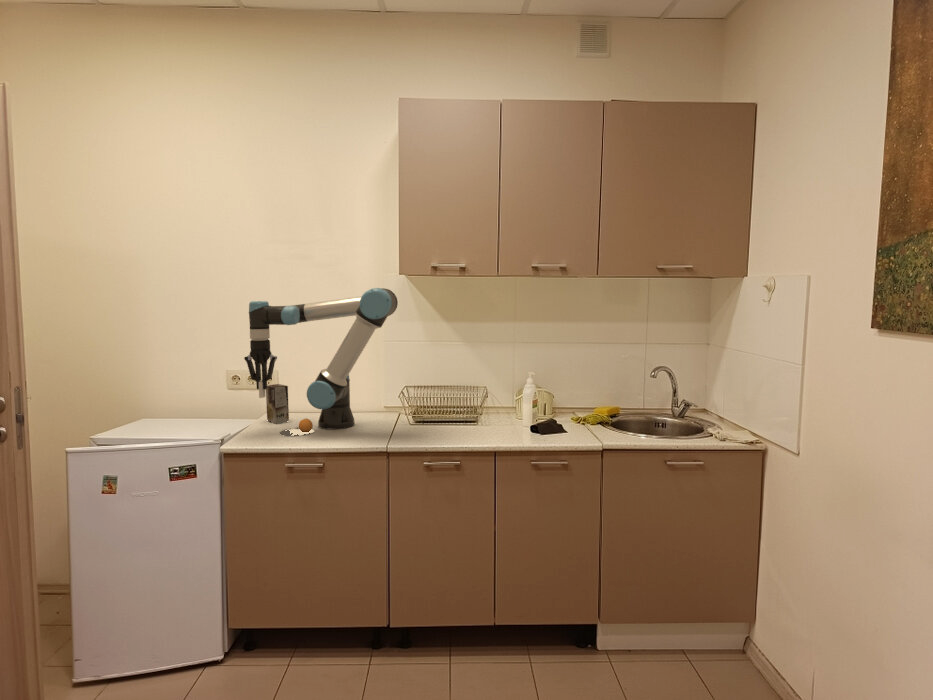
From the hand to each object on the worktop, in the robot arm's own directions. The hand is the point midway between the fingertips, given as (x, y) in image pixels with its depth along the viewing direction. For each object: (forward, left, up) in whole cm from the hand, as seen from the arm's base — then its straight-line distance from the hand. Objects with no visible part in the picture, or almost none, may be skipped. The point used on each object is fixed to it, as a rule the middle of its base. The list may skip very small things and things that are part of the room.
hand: (262, 397), depth 237 cm
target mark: (-14, 0, -14) cm, 20 cm away
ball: (-18, 0, -12) cm, 21 cm away
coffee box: (+1, -19, -15) cm, 24 cm away
